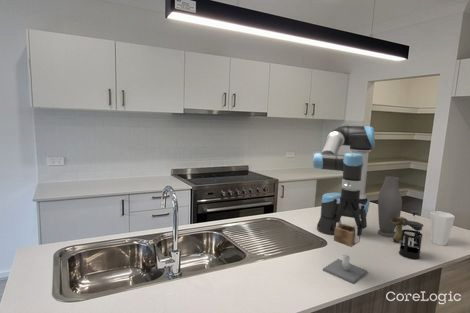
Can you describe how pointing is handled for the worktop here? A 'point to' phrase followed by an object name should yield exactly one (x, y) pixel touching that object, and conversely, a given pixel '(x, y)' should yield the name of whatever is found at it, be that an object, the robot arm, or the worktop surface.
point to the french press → (408, 246)
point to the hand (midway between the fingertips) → (346, 239)
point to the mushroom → (398, 227)
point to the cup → (441, 227)
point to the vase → (389, 206)
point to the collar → (345, 235)
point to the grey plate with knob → (345, 270)
